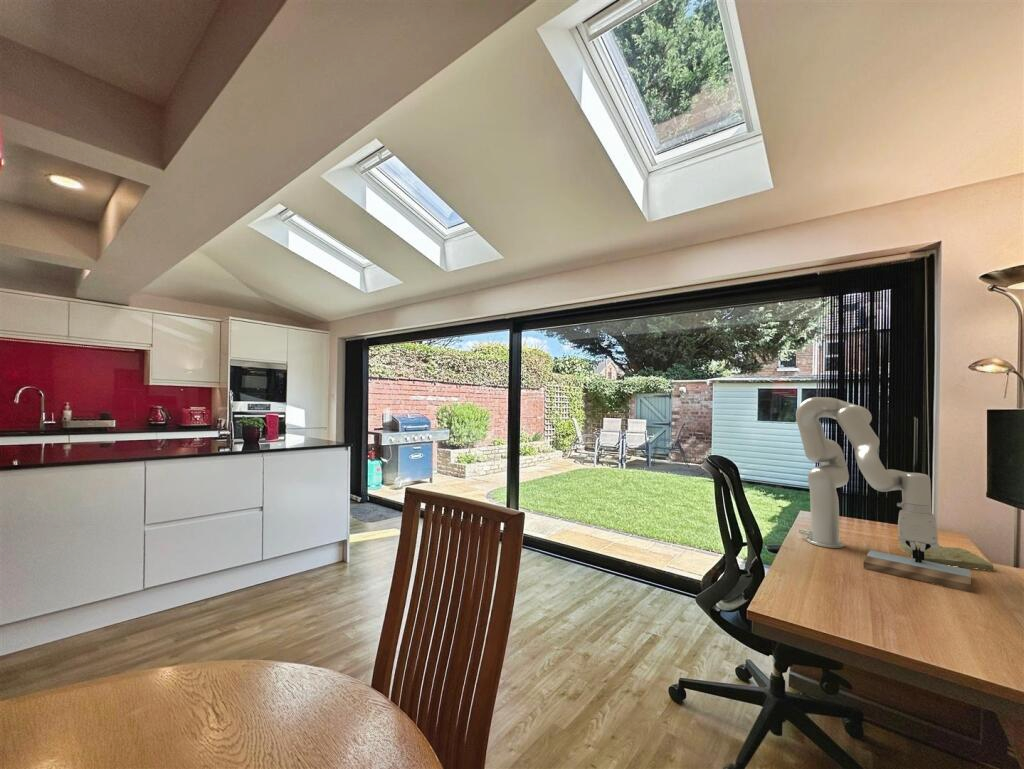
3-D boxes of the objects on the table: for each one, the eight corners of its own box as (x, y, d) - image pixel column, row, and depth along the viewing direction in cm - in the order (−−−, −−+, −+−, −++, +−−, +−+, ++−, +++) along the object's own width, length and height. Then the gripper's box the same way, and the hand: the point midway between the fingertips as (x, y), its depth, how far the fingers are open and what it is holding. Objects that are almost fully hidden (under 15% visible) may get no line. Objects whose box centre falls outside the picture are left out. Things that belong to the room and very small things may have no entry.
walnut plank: (863, 568, 153) (863, 561, 153) (866, 562, 158) (866, 556, 158) (971, 592, 134) (971, 584, 134) (970, 584, 140) (970, 577, 140)
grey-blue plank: (867, 561, 159) (866, 555, 159) (870, 555, 164) (869, 549, 164) (970, 583, 140) (970, 577, 140) (970, 575, 146) (969, 569, 146)
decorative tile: (994, 573, 151) (994, 562, 151) (922, 565, 158) (921, 555, 158) (960, 554, 169) (960, 545, 169) (896, 548, 175) (896, 539, 175)
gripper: (887, 506, 157) (889, 558, 156) (946, 514, 146) (948, 570, 145) (889, 503, 162) (891, 553, 161) (946, 510, 151) (948, 564, 150)
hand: (918, 561), depth 153 cm, fingers closed
